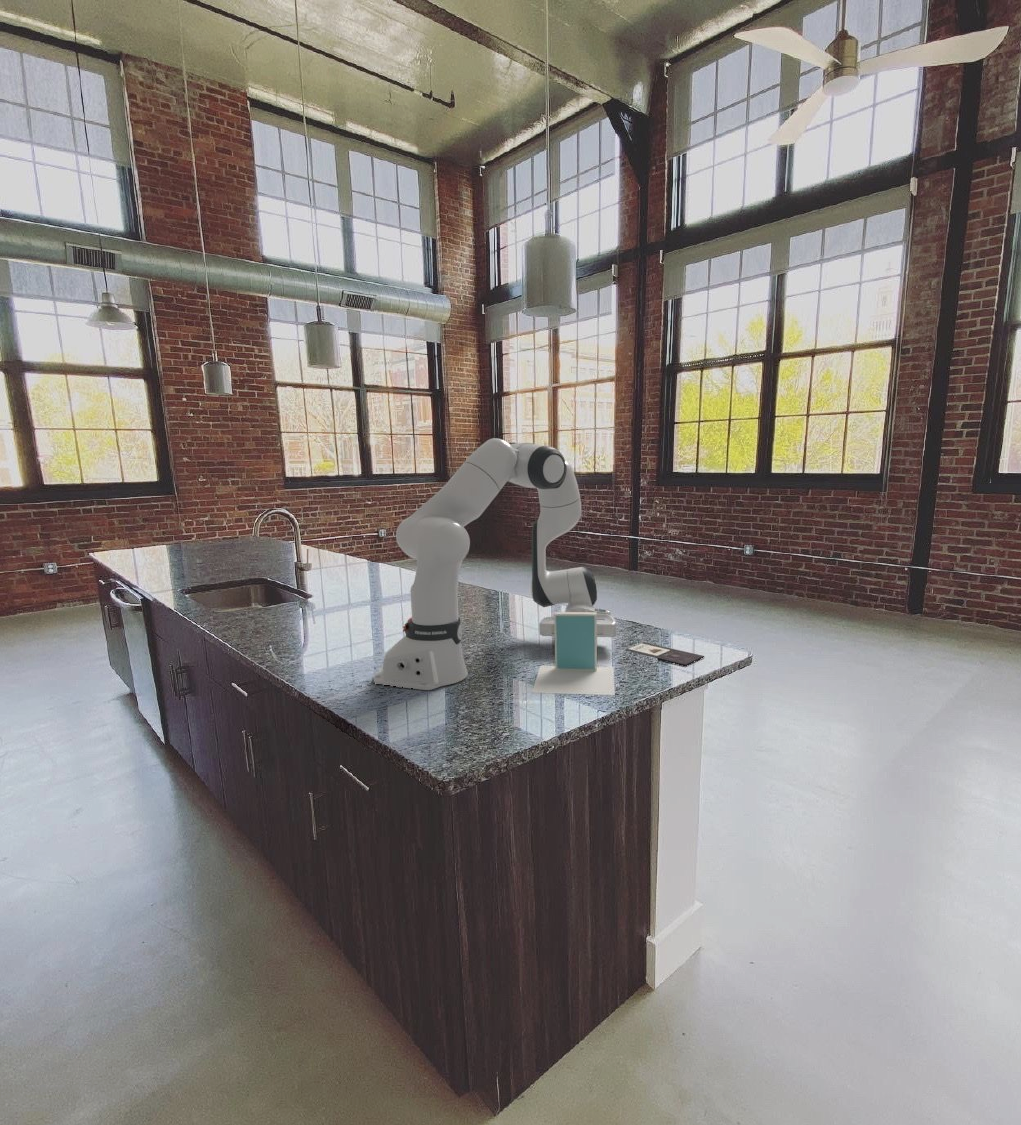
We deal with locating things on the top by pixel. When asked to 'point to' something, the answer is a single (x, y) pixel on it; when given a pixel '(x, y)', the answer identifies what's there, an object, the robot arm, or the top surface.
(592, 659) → the tile
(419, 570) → the robot arm
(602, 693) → the mat
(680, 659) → the chocolate bar
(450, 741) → the top surface
